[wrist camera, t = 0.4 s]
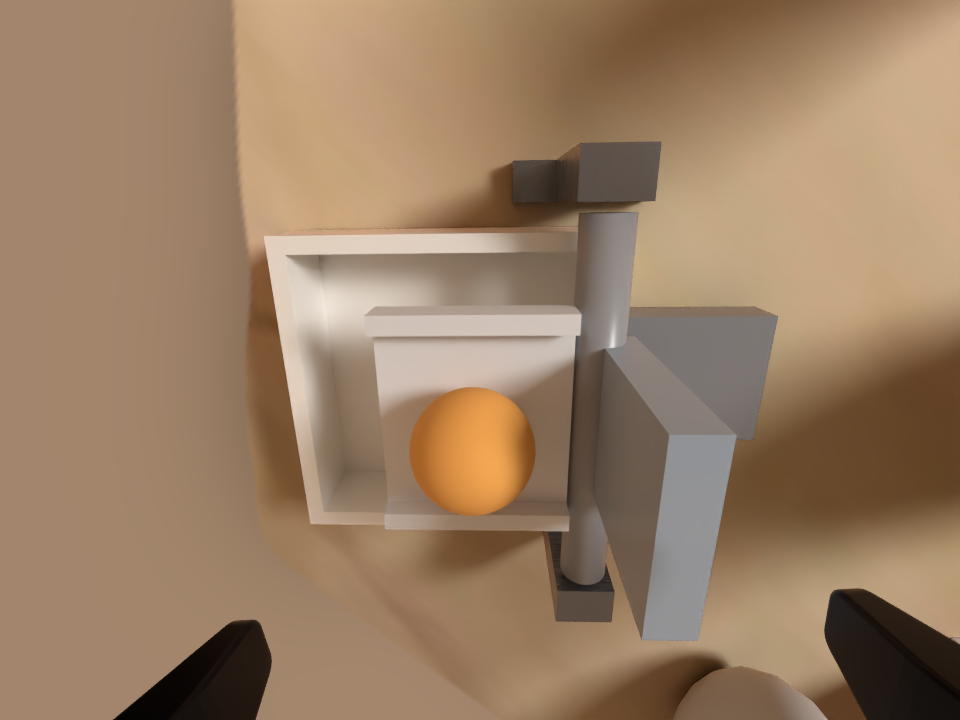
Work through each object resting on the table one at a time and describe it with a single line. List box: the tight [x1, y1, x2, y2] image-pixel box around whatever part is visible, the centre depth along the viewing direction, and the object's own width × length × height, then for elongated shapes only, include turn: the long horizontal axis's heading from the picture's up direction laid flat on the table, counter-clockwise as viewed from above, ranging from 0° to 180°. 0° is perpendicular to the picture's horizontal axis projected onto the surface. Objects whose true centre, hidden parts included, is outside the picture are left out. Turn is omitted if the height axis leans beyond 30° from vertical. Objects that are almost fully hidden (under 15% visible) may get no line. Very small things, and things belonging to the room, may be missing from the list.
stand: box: [512, 142, 661, 622], centre depth 17 cm, size 5×16×6 cm, turn 1°
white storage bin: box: [264, 226, 578, 525], centre depth 18 cm, size 11×11×4 cm
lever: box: [364, 212, 778, 641], centre depth 14 cm, size 14×12×10 cm
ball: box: [410, 387, 536, 516], centre depth 13 cm, size 4×4×4 cm
